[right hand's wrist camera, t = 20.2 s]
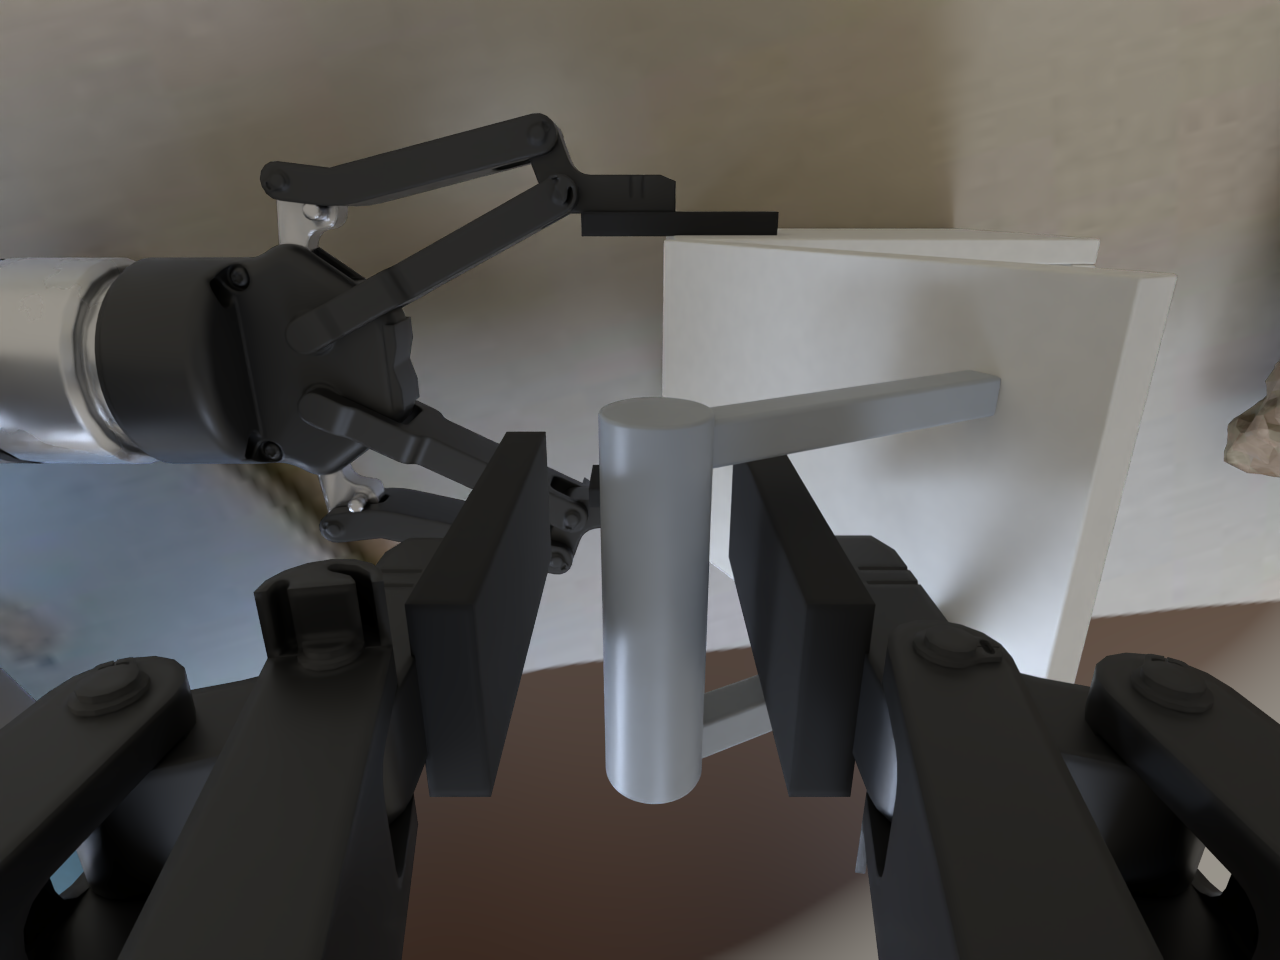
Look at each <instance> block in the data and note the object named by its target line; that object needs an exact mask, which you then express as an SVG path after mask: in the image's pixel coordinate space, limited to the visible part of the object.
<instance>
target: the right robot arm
mask: <svg viewBox="0 0 1280 960" xmlns="http://www.w3.org/2000/svg"><path fill="white" fill-rule="evenodd" d="M551 557H552V556H551V536H550V515H549V494H548V473H547V453H546V432H506V434H505V436H504V437H503V439H502V441H501V442H500V444H499V446H498V447H497V449H496V451H495V452H494V454H493V456H492V458H491V459H490V461H489V463H488V464H487V466H486V468H485V469H484V471H483V473H482V474H481V476H480V478H479V479H478V481H477V483H476V485H475V486H474V488H473V490H472V491H471V493H470V495H469V496H468V498H467V500H466V501H465V503H464V505H463V506H462V508H461V510H460V511H459V513H458V515H457V517H456V518H455V520H454V522H453V523H452V525H451V527H450V528H449V530H448V532H447V533H446V535H445V537H444V538H408V539H406V540H405V541H403V542H401V543H400V544H398V545H397V546H395V547H393V548H392V549H390V550H388V551H387V552H385V554H384V555H383V556H382V558H381V559H380V560H379V562H378V563H377V564H376V566H375V565H373V564H372V563H368V562H364V561H360V560H355V559H330V560H324V561H317V562H311V563H306V564H303V565H300V566H297V567H294V568H291V569H288V570H285V571H283V572H281V573H279V574H277V575H275V576H273V577H271V578H269V579H268V580H266V581H265V582H264V583H263V584H262V585H261V586H260V587H259V588H257V589H256V590H255V591H254V597H255V601H256V606H257V611H258V615H259V620H260V625H261V629H262V634H263V639H264V643H265V648H266V652H267V657H268V659H267V661H266V663H265V665H264V667H263V669H262V671H261V673H260V675H259V676H258V677H254V678H250V679H246V680H242V681H236V682H231V683H226V684H220V685H215V686H210V687H204V688H199V689H194V690H190V686H189V683H188V679H187V675H186V671H185V668H184V667H183V666H182V665H180V664H179V663H178V662H177V661H175V660H174V659H169V658H163V657H157V656H150V657H137V658H133V657H129V658H124V659H118V660H117V661H116V662H114V661H110V662H107V663H103V664H100V665H98V666H96V667H94V668H93V669H91V670H88V671H86V672H84V673H81V674H79V675H76V676H74V677H72V678H70V679H69V680H67V681H66V682H64V683H62V684H61V685H59V686H57V687H56V688H54V689H53V690H51V691H49V692H48V693H47V694H46V695H44V696H43V697H42V698H40V699H39V700H38V701H36V702H35V703H34V704H32V705H31V706H30V707H29V708H27V709H26V710H25V711H23V712H22V713H21V714H19V715H18V716H17V717H16V718H14V719H13V720H12V721H10V722H9V723H8V724H6V725H5V726H4V727H3V728H1V729H0V960H401V959H402V951H403V942H404V934H405V926H406V918H407V910H408V902H409V893H410V885H411V877H412V869H413V861H414V852H415V844H416V836H417V828H418V821H417V814H416V807H415V800H414V790H415V788H416V785H417V783H418V780H419V777H420V775H421V772H422V770H423V767H424V764H426V772H427V780H428V787H429V795H430V797H491V794H492V790H493V786H494V782H495V778H496V774H497V770H498V766H499V762H500V758H501V755H502V750H503V746H504V743H505V739H506V735H507V731H508V727H509V723H510V719H511V715H512V711H513V707H514V703H515V699H516V695H517V691H518V687H519V683H520V679H521V676H522V672H523V668H524V664H525V660H526V656H527V652H528V648H529V644H530V640H531V636H532V632H533V628H534V624H535V620H536V616H537V612H538V608H539V604H540V600H541V597H542V593H543V589H544V585H545V581H546V577H547V573H548V569H549V565H550V561H551ZM728 557H729V561H730V565H731V569H732V573H733V577H734V581H735V585H736V589H737V593H738V596H739V600H740V604H741V608H742V612H743V616H744V620H745V624H746V628H747V632H748V636H749V640H750V644H751V648H752V652H753V656H754V660H755V664H756V668H757V671H758V676H759V679H760V683H761V687H762V691H763V695H764V699H765V703H766V707H767V711H768V715H769V719H770V723H771V727H772V731H773V735H774V739H775V743H776V747H777V751H778V755H779V759H780V762H781V766H782V770H783V774H784V778H785V782H786V786H787V790H788V794H789V797H850V795H851V787H852V780H853V772H854V764H855V761H856V763H857V766H858V769H859V771H860V774H861V776H862V779H863V781H864V784H865V786H866V789H867V793H866V800H865V807H864V814H863V821H862V828H861V835H860V842H859V849H858V856H857V863H856V871H855V872H857V873H864V874H865V870H866V865H867V867H868V875H869V884H870V892H871V900H872V908H873V916H874V924H875V933H876V941H877V949H878V957H879V960H1280V724H1279V723H1277V722H1276V721H1275V720H1273V719H1272V718H1271V717H1269V716H1268V715H1267V714H1265V713H1264V712H1263V711H1261V710H1260V709H1259V708H1257V707H1256V706H1255V705H1254V704H1252V703H1251V702H1250V701H1248V700H1247V699H1246V698H1244V697H1243V696H1242V695H1240V694H1239V693H1238V692H1236V691H1235V690H1234V689H1233V688H1231V687H1230V686H1228V685H1226V684H1225V683H1223V682H1221V681H1220V680H1218V679H1216V678H1215V677H1213V676H1211V675H1210V674H1208V673H1206V672H1204V671H1201V670H1199V669H1196V668H1194V667H1191V666H1189V665H1187V664H1186V663H1184V662H1182V661H1179V660H1176V659H1173V658H1169V657H1168V658H1164V656H1160V655H1154V654H1136V653H1121V654H1116V655H1110V656H1106V657H1105V658H1104V659H1102V660H1101V661H1100V662H1099V663H1097V664H1096V668H1095V671H1094V675H1093V679H1092V683H1091V686H1090V687H1088V686H1083V685H1077V684H1072V683H1067V682H1061V681H1056V680H1051V679H1045V678H1040V677H1036V676H1032V675H1027V674H1023V673H1020V672H1019V670H1018V668H1017V666H1016V664H1015V662H1014V660H1013V658H1012V656H1011V655H1010V654H1009V653H1008V652H1007V650H1006V649H1005V648H1004V647H1003V646H1002V644H1000V643H999V642H997V641H995V640H994V639H992V638H991V637H989V636H988V635H986V634H984V633H983V632H980V631H977V630H975V629H972V628H969V627H967V626H964V625H961V624H957V623H951V622H948V621H947V619H946V618H945V616H944V615H943V614H942V612H941V611H940V610H939V608H938V607H937V606H936V604H935V603H934V602H933V600H932V599H931V598H930V596H929V595H928V594H927V592H926V591H925V590H924V588H923V587H922V586H921V584H918V580H917V579H916V578H915V576H914V575H913V573H912V572H911V571H910V570H908V569H907V565H906V564H905V563H904V561H903V560H902V559H901V557H900V556H899V555H898V553H897V552H896V551H895V550H894V549H893V548H891V547H889V546H888V545H886V544H884V543H883V542H881V541H880V540H878V539H876V538H875V537H873V536H871V535H834V533H833V532H832V530H831V528H830V527H829V525H828V523H827V522H826V520H825V518H824V517H823V515H822V513H821V511H820V510H819V508H818V506H817V505H816V503H815V501H814V500H813V498H812V496H811V495H810V493H809V491H808V490H807V488H806V486H805V485H804V483H803V481H802V479H801V478H800V476H799V474H798V473H797V471H796V469H795V468H794V466H793V464H792V463H791V461H790V459H789V458H788V456H787V455H782V456H777V457H772V458H766V459H761V460H756V461H750V462H745V463H740V464H734V465H733V474H732V494H731V515H730V536H729V556H728ZM1205 846H1206V847H1207V849H1208V850H1209V851H1210V852H1211V853H1212V854H1213V855H1214V856H1215V857H1216V858H1217V859H1218V860H1219V861H1220V862H1221V863H1222V864H1223V865H1224V866H1225V868H1226V869H1227V870H1228V871H1229V872H1230V873H1231V877H1230V879H1229V882H1228V884H1227V887H1226V889H1225V890H1224V891H1223V892H1221V891H1219V890H1218V889H1217V888H1216V887H1215V886H1214V885H1212V884H1211V883H1210V882H1209V881H1208V880H1207V879H1206V877H1205V876H1204V875H1203V874H1202V873H1201V872H1200V871H1199V870H1198V869H1197V868H1198V865H1199V862H1200V860H1201V857H1202V854H1203V851H1204V848H1205ZM75 851H77V854H78V857H79V860H80V862H81V865H82V868H83V871H84V872H83V873H82V874H81V875H80V876H79V877H78V878H77V879H76V881H75V882H74V883H73V884H72V885H71V886H70V887H68V888H67V889H66V890H65V891H63V892H62V893H61V894H60V895H59V894H58V893H57V892H56V891H55V889H54V887H53V884H52V882H51V879H50V877H51V876H52V875H53V874H54V873H55V872H56V871H57V870H58V869H59V868H60V867H61V866H62V865H63V864H64V862H65V861H66V860H67V859H68V858H69V857H70V856H71V855H72V854H73V853H74V852H75Z"/></svg>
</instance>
